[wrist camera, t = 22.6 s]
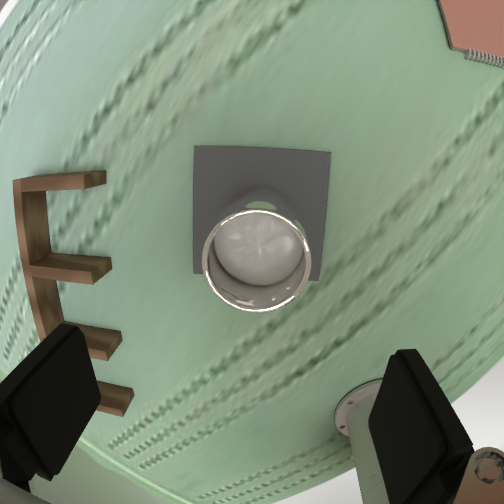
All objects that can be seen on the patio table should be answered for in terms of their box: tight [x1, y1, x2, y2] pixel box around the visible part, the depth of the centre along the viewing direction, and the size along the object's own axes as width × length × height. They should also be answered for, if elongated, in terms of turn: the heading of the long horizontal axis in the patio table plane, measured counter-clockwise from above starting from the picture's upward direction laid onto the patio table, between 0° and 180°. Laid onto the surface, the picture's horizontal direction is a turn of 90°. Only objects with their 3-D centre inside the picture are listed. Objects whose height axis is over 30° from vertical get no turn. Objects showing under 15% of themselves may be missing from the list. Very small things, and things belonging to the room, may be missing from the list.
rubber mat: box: [193, 146, 331, 281], centre depth 33 cm, size 14×14×1 cm
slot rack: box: [13, 171, 134, 417], centre depth 36 cm, size 33×11×5 cm, turn 178°
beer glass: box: [202, 187, 311, 313], centre depth 26 cm, size 7×7×15 cm
